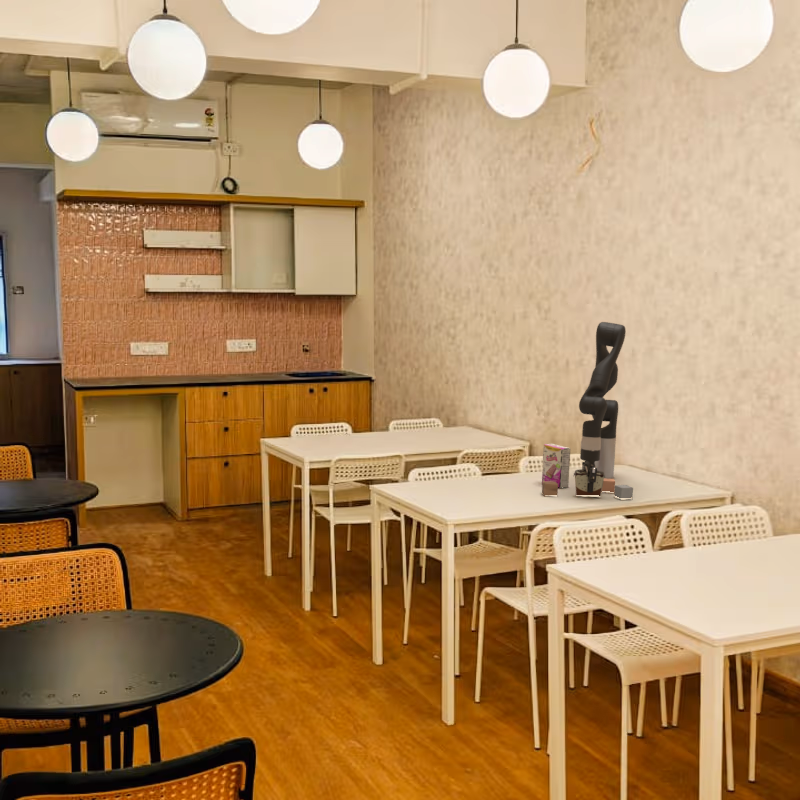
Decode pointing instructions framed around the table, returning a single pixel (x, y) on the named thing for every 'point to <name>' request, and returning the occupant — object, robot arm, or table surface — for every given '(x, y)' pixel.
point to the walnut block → (549, 488)
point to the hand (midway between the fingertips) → (588, 490)
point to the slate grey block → (623, 491)
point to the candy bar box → (556, 464)
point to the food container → (582, 482)
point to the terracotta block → (608, 485)
